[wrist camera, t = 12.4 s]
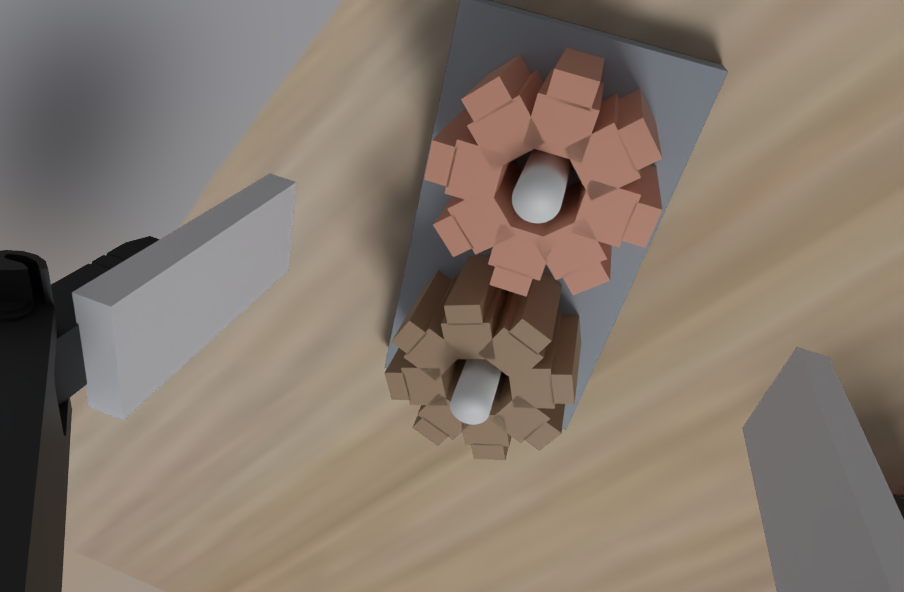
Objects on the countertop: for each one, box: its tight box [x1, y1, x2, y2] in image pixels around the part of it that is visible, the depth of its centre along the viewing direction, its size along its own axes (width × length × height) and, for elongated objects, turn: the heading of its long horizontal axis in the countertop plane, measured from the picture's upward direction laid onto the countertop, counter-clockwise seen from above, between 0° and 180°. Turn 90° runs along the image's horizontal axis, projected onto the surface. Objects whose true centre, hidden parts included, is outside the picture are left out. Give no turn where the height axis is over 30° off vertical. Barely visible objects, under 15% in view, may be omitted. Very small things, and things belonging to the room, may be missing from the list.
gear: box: [424, 48, 662, 297], centre depth 25 cm, size 9×9×5 cm
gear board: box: [384, 0, 728, 460], centre depth 27 cm, size 20×11×8 cm, turn 167°
